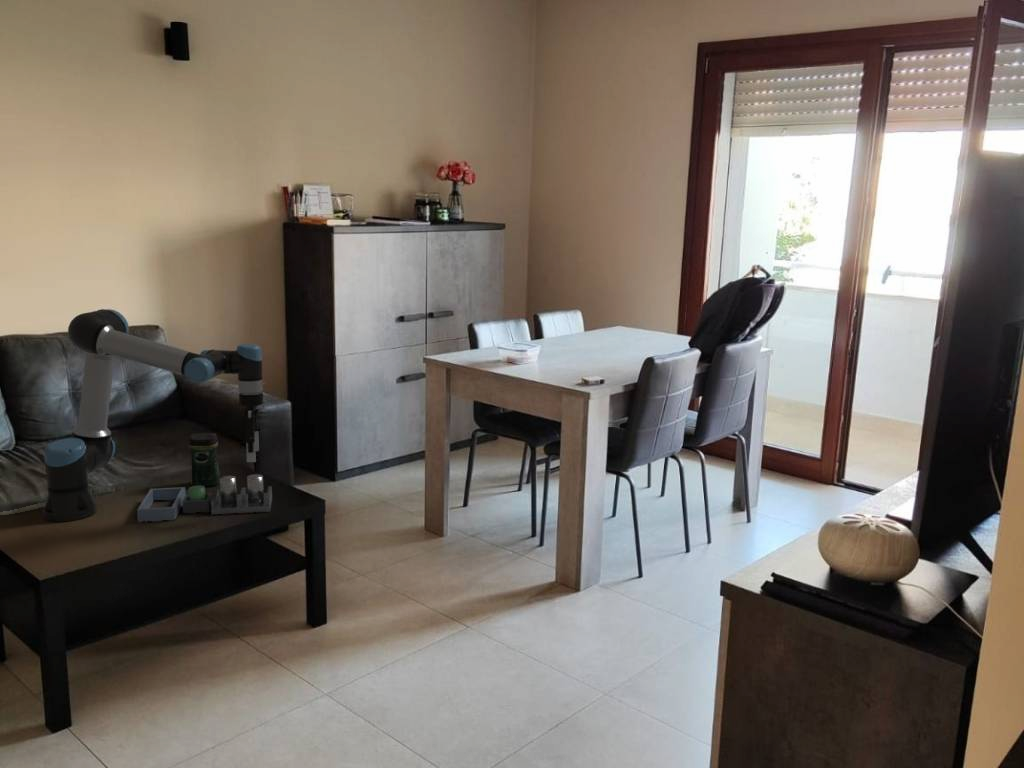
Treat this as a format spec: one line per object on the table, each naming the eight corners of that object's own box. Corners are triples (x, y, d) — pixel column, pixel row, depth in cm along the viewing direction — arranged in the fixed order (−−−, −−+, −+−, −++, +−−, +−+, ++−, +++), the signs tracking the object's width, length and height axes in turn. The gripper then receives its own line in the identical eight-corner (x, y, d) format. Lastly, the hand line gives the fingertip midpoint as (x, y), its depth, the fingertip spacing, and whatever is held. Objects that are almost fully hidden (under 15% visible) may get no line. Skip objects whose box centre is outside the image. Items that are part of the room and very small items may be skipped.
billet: (247, 502, 288) (246, 478, 286) (248, 497, 293) (247, 474, 291) (263, 501, 289) (262, 478, 287) (264, 497, 294) (263, 474, 292)
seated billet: (220, 504, 286) (218, 480, 285) (221, 499, 291) (220, 476, 289) (236, 503, 287) (234, 479, 286) (237, 498, 292) (236, 475, 290)
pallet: (211, 515, 282) (210, 501, 281) (216, 501, 295) (215, 488, 294) (269, 511, 285) (269, 498, 284) (272, 498, 299) (271, 485, 298)
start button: (188, 508, 284) (187, 490, 283) (190, 503, 289) (189, 485, 288) (204, 507, 285) (203, 489, 284) (206, 502, 290) (205, 485, 289)
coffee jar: (222, 480, 318) (220, 430, 315) (216, 487, 311) (214, 436, 307) (195, 481, 318) (192, 430, 314) (188, 487, 310) (185, 436, 306)
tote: (137, 522, 274) (137, 510, 274) (151, 500, 296) (150, 488, 295) (175, 520, 277) (174, 507, 276) (185, 498, 298) (185, 487, 297)
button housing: (183, 513, 283) (182, 501, 282) (186, 505, 290) (186, 494, 290) (209, 512, 284) (208, 500, 284) (212, 504, 292) (211, 492, 291)
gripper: (260, 400, 273) (262, 466, 277) (265, 385, 297) (267, 446, 301) (234, 400, 271) (237, 467, 275) (242, 385, 295) (244, 446, 299)
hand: (253, 456), depth 288 cm, fingers open, 13 cm apart
